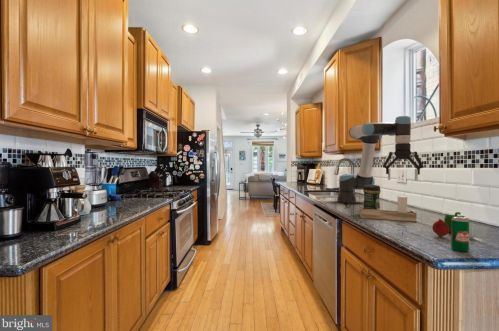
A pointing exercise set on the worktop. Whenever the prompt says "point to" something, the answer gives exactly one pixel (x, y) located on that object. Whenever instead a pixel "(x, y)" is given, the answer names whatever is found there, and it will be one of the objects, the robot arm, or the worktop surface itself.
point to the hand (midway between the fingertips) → (402, 180)
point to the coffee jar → (371, 197)
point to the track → (388, 214)
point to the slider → (402, 204)
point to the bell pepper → (448, 219)
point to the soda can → (460, 234)
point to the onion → (440, 228)
